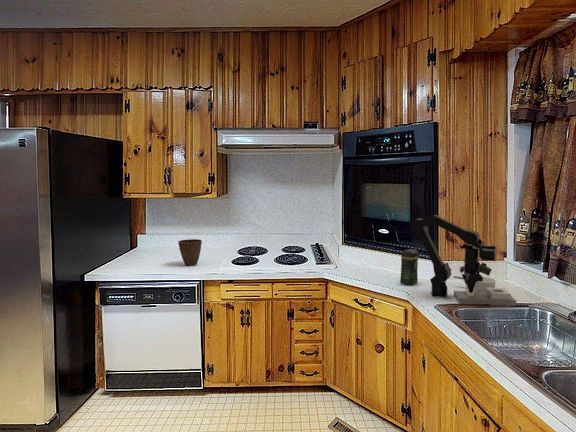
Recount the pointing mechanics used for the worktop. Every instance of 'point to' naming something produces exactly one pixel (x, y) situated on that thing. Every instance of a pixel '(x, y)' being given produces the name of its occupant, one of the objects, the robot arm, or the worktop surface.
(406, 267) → the coffee jar
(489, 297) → the jack panel
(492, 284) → the saucepan
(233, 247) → the worktop surface
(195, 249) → the plant pot
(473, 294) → the plug
